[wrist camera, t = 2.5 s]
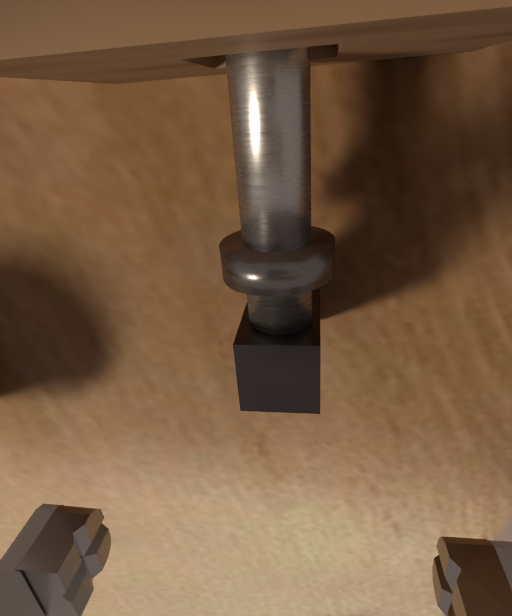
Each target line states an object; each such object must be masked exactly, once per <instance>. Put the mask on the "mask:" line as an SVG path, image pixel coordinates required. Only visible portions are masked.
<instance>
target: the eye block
mask: <svg viewBox="0 0 512 616" xmlns="http://www.w3.org/2000/svg"><path fill="white" fill-rule="evenodd" d="M509 40H512V0H0V77H11V78H27V79H44V80H61V81H78V82H95V83H112V84H118V83H129V82H140V81H151V80H162V79H173V78H184V77H195V76H206V75H217V74H227V68H226V57H225V55H229V54H239V53H249V52H260V51H270V50H280V49H290V48H300V47H310V66H316V65H327V64H338V63H349V62H360V61H372V60H383V59H394V58H405V57H416V56H427V55H438V54H449V53H460V52H471V51H474V50H478V49H481V48H485V47H488V46H492V45H495V44H499V43H502V42H506V41H509Z"/></svg>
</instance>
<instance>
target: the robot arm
mask: <svg viewBox="0 0 512 616" xmlns="http://www.w3.org/2000/svg"><path fill="white" fill-rule="evenodd" d="M103 519H104V516H103V513H102V511H101V509H95V508H84V507H73V506H64V505H53V504H42V505H41V506H40V507H39V508H37V509H36V510H35V512H34V513H33V514H32V516H31V517H30V519H29V520H28V522H27V523H26V524H25V526H24V527H23V529H22V530H21V532H20V533H19V534H18V536H17V537H16V539H15V540H14V542H13V543H12V544H11V546H10V547H9V549H8V550H7V552H6V553H5V554H4V556H3V557H2V559H1V560H0V616H81V615H82V613H83V611H84V609H85V607H86V605H87V602H88V600H89V598H90V596H91V594H92V592H93V590H94V587H93V580H92V579H93V578H94V577H95V576H96V575H97V574H98V573H99V572H101V571H102V570H103V568H104V565H105V563H106V561H107V559H108V555H109V551H110V546H111V535H110V532H109V529H108V528H107V527H105V526H104V525H103V524H102V521H103ZM437 549H438V553H439V555H438V556H437V557H435V558H434V561H433V567H432V572H433V585H434V592H435V596H436V601H437V605H438V607H439V608H440V609H441V610H442V611H443V613H444V614H445V615H446V616H512V542H507V541H506V542H505V541H491V540H487V539H472V538H456V537H440V538H439V539H438V542H437Z"/></svg>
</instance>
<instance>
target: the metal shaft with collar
mask: <svg viewBox="0 0 512 616" xmlns="http://www.w3.org/2000/svg"><path fill="white" fill-rule="evenodd" d="M225 57H226V68H227V79H228V90H229V101H230V112H231V123H232V135H233V146H234V157H235V168H236V179H237V190H238V201H239V212H240V224H241V231H237V232H235V233H232V234H230V235H228V236H227V237H225V238H224V239H223V240H222V241H221V242H220V244H219V248H220V257H221V265H222V274H223V280H224V282H225V284H226V285H227V286H228V287H230V288H231V289H233V290H235V291H238V292H241V293H244V294H247V304H246V307H245V310H244V313H243V316H242V319H241V322H240V325H239V328H238V331H237V334H236V337H235V340H234V343H233V349H234V357H235V366H236V375H237V383H238V392H239V401H240V410H241V411H260V412H286V413H312V414H320V296H319V288H320V287H322V286H324V285H325V284H327V283H328V282H329V281H331V279H332V278H333V276H334V266H335V237H334V236H333V234H331V233H330V232H328V231H327V230H324V229H321V228H318V227H313V226H311V102H310V47H300V48H290V49H280V50H270V51H260V52H249V53H239V54H229V55H225Z"/></svg>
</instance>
